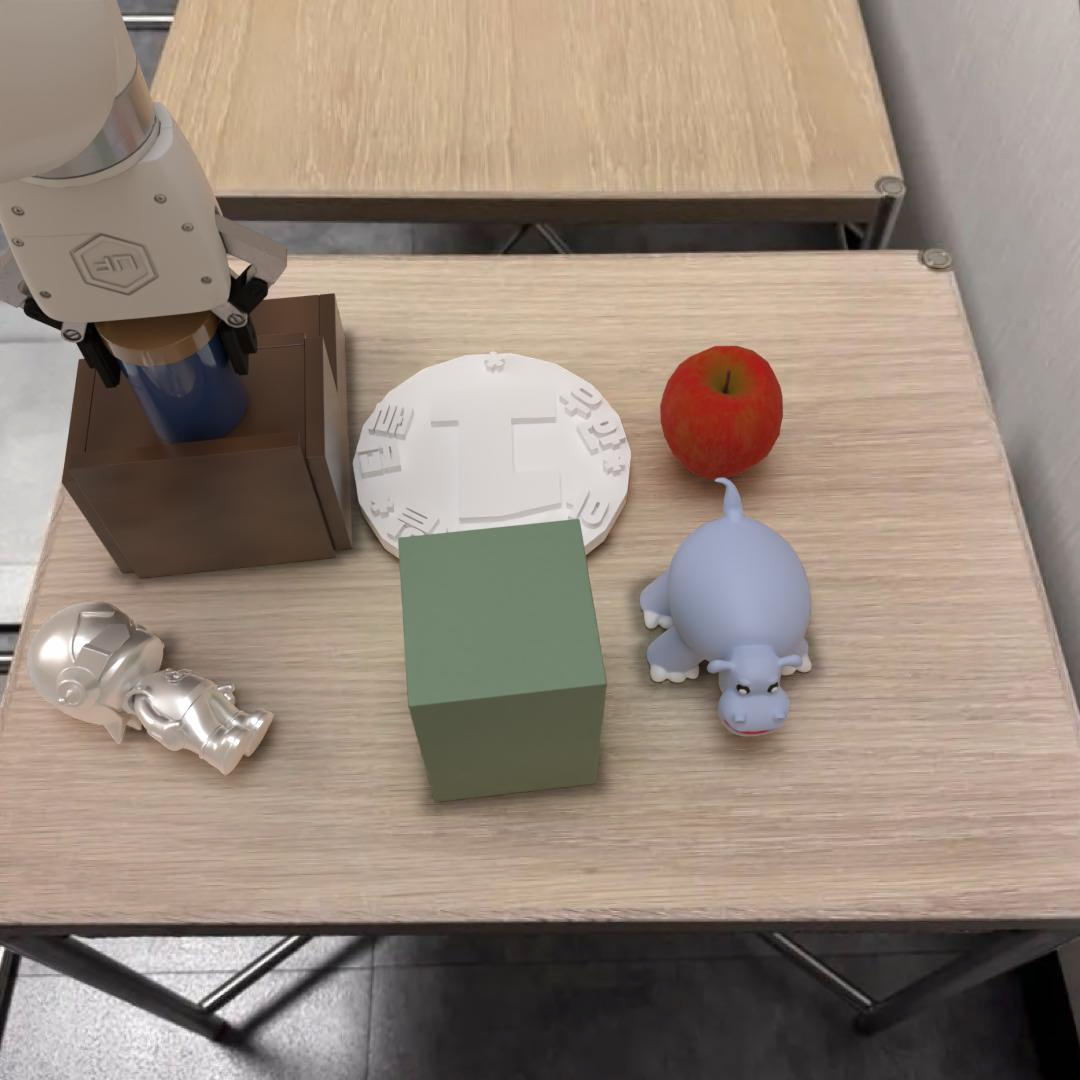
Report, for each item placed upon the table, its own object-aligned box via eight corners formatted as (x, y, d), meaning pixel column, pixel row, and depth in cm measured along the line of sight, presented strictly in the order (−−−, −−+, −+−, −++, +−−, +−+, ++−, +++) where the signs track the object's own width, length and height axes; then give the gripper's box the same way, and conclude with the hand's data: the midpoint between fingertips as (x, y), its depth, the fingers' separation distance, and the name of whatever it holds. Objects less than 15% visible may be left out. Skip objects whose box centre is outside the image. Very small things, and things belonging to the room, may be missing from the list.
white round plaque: (658, 407, 82) (662, 382, 80) (586, 626, 72) (588, 605, 70) (414, 348, 85) (410, 322, 83) (314, 550, 75) (306, 528, 73)
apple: (681, 404, 82) (698, 303, 73) (785, 445, 80) (816, 346, 71) (633, 485, 78) (644, 389, 69) (741, 531, 76) (768, 438, 67)
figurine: (225, 739, 60) (3, 604, 61) (178, 840, 62) (-35, 708, 63) (306, 674, 70) (114, 560, 71) (264, 763, 72) (78, 650, 73)
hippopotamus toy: (660, 763, 67) (676, 703, 59) (632, 558, 75) (643, 480, 67) (830, 751, 67) (869, 690, 59) (785, 548, 75) (814, 470, 67)
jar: (139, 453, 66) (86, 355, 59) (147, 370, 70) (98, 267, 62) (250, 442, 67) (212, 343, 59) (252, 360, 70) (216, 257, 63)
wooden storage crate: (121, 580, 74) (47, 471, 63) (142, 356, 85) (82, 230, 74) (352, 556, 75) (319, 444, 64) (345, 337, 86) (315, 210, 75)
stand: (434, 803, 66) (408, 706, 53) (424, 656, 71) (397, 537, 58) (595, 783, 66) (607, 683, 54) (573, 639, 72) (579, 518, 59)
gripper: (-142, 179, 47) (25, 427, 62) (255, 146, 48) (324, 397, 63) (-109, 74, 51) (41, 331, 66) (257, 46, 52) (322, 305, 67)
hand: (179, 362), depth 65 cm, fingers open, 7 cm apart
